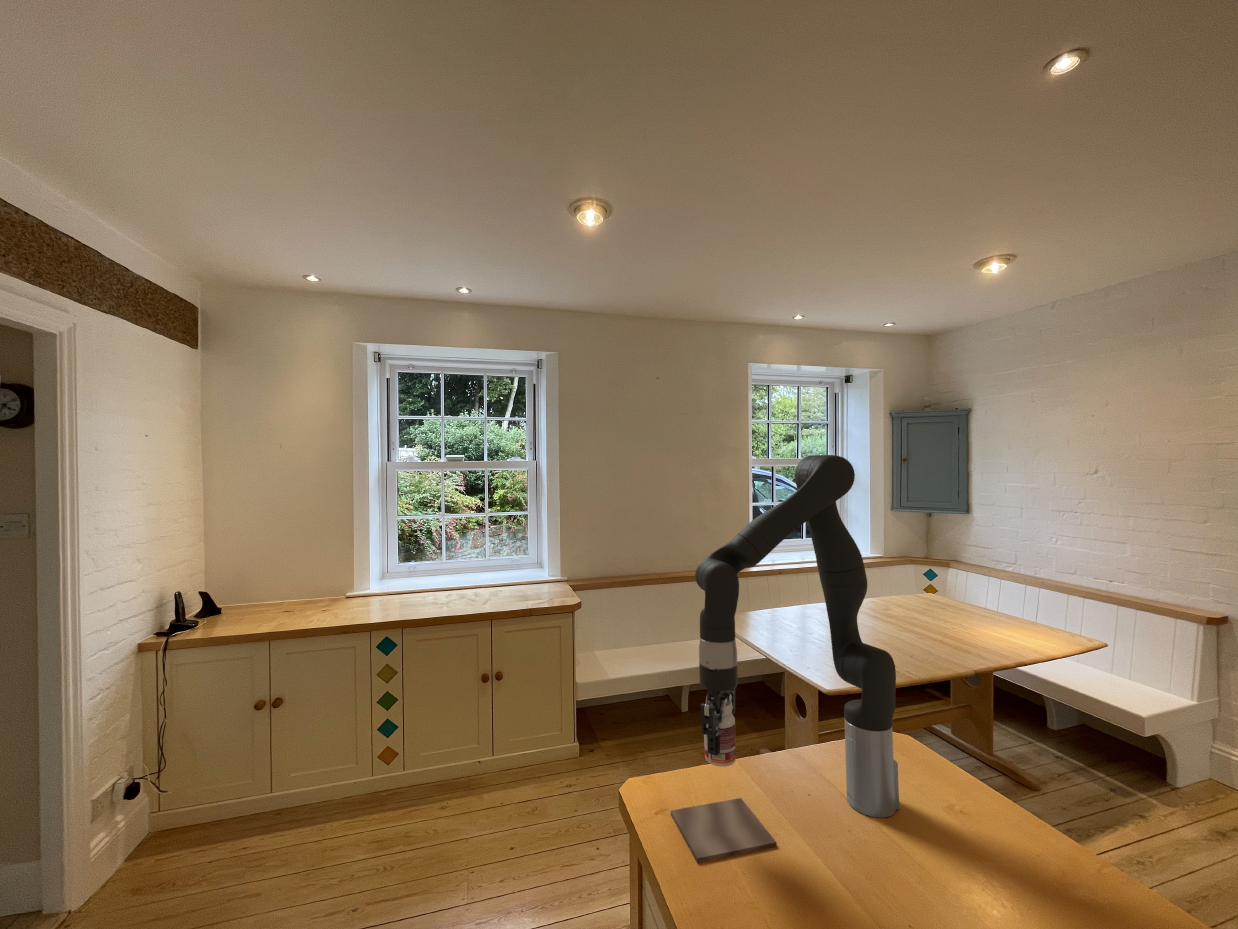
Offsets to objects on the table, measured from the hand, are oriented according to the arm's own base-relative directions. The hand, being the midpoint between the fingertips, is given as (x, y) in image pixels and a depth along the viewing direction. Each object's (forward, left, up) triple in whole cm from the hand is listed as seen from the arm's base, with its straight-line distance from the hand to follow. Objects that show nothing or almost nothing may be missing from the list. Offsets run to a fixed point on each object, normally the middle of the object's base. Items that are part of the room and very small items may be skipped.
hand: (719, 745), depth 101 cm
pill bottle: (0, 0, -3) cm, 3 cm away
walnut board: (0, 0, -16) cm, 16 cm away
